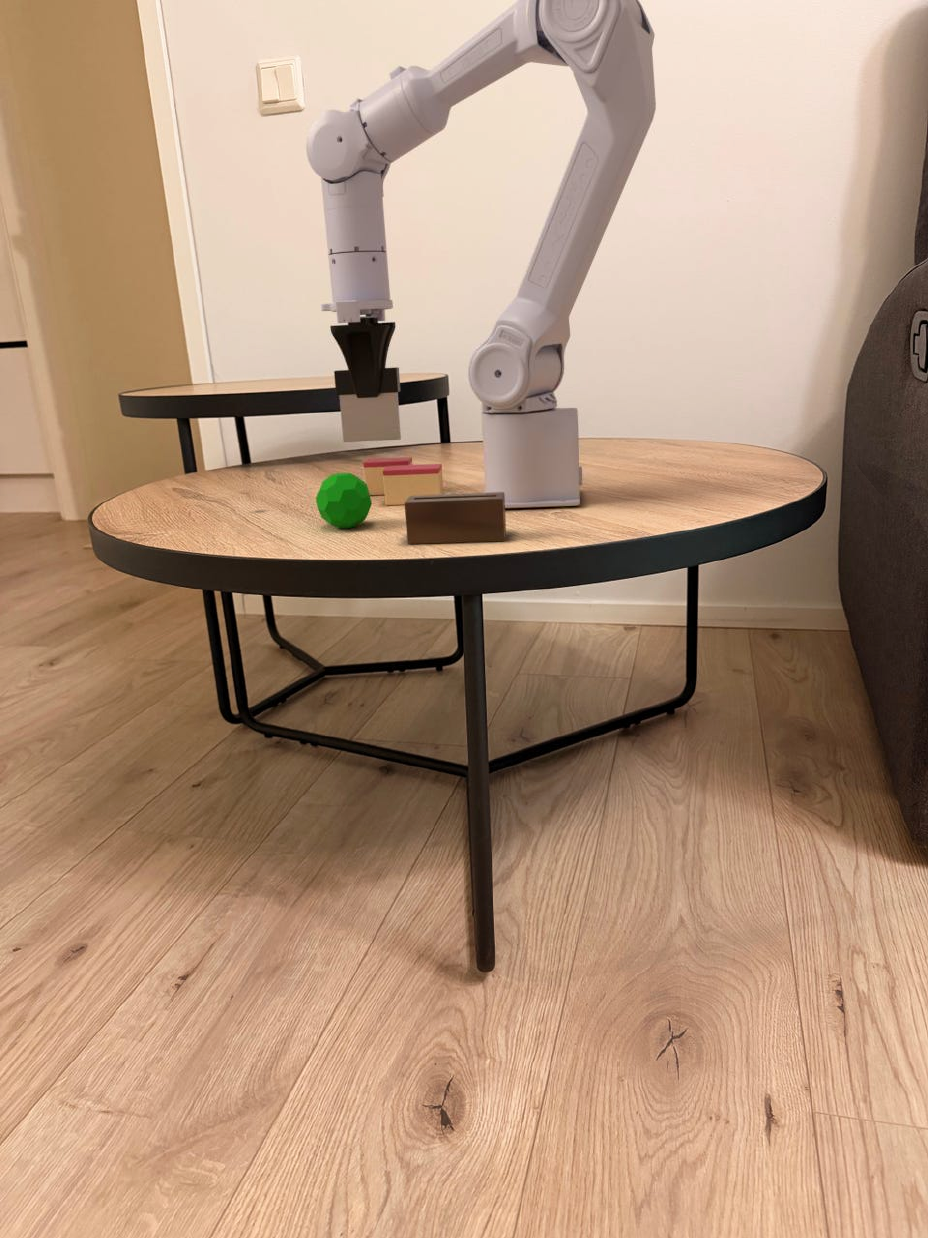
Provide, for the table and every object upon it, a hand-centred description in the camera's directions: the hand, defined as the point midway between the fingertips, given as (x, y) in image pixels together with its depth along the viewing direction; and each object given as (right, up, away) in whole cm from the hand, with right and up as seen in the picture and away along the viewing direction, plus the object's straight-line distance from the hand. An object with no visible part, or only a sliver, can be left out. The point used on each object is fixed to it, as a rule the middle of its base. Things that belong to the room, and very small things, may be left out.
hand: (369, 396), depth 94 cm
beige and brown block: (0, -4, +1) cm, 5 cm away
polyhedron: (-1, -14, -10) cm, 18 cm away
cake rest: (+5, -11, 0) cm, 12 cm away
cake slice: (+2, -9, +5) cm, 11 cm away
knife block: (+9, -16, -17) cm, 25 cm away
